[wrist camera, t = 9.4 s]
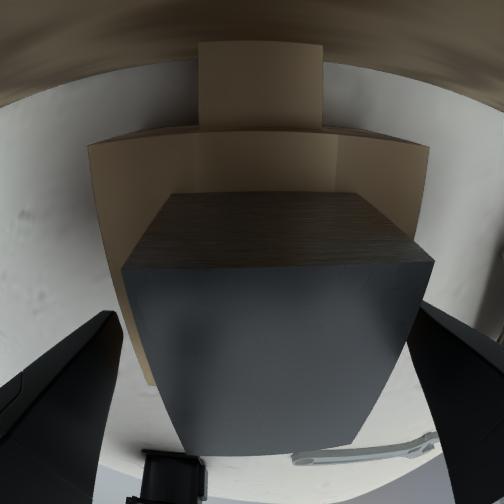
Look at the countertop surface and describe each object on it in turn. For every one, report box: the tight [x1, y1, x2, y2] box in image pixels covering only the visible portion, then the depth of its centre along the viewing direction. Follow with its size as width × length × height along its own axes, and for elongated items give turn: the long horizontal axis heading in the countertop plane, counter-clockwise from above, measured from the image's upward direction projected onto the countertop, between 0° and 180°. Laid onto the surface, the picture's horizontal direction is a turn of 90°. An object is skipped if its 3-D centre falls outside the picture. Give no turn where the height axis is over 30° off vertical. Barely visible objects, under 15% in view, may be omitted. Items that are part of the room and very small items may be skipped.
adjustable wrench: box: [292, 432, 440, 466], centre depth 28 cm, size 25×6×2 cm, turn 66°
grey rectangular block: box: [120, 191, 435, 456], centre depth 9 cm, size 5×7×8 cm
